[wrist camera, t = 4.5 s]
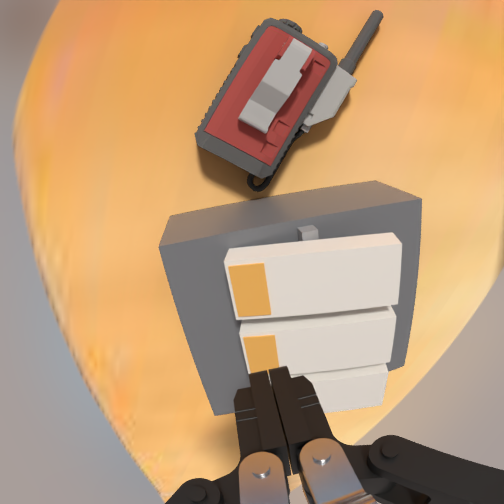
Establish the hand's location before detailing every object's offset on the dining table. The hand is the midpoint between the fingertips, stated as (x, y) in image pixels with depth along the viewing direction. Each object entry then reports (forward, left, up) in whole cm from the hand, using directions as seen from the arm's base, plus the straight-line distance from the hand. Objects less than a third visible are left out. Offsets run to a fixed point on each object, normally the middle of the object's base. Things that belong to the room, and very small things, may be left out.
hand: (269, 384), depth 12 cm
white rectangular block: (-4, 0, -8) cm, 9 cm away
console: (-4, +5, -16) cm, 18 cm away
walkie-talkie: (-7, -13, -17) cm, 23 cm away
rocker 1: (-4, +5, -8) cm, 10 cm away
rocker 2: (-4, +10, -8) cm, 13 cm away
